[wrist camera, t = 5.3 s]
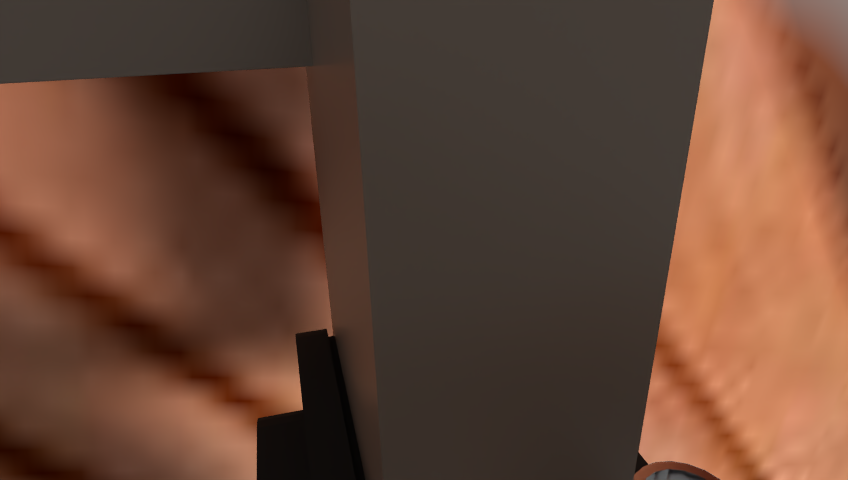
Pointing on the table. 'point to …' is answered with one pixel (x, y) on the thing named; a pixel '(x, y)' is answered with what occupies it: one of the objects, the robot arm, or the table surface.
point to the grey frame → (457, 201)
